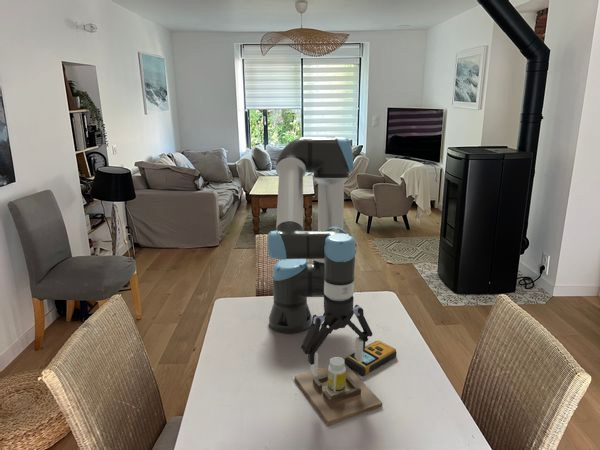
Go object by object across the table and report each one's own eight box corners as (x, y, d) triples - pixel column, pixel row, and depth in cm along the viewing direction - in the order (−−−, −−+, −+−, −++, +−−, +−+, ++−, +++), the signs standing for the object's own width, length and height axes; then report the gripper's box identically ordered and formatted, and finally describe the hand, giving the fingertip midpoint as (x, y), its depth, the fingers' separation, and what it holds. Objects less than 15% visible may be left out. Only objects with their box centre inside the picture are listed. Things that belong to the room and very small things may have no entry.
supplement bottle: (347, 384, 120) (348, 357, 118) (342, 395, 116) (343, 367, 114) (330, 381, 122) (330, 354, 120) (325, 391, 118) (326, 364, 115)
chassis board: (294, 379, 125) (294, 371, 124) (343, 365, 131) (343, 357, 130) (327, 425, 107) (328, 416, 107) (382, 406, 114) (382, 397, 113)
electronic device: (398, 358, 136) (398, 349, 135) (364, 378, 126) (364, 368, 125) (376, 347, 142) (377, 337, 141) (342, 365, 132) (343, 355, 131)
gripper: (300, 311, 103) (300, 387, 109) (388, 291, 113) (383, 361, 119) (287, 298, 109) (288, 370, 116) (371, 279, 119) (368, 347, 126)
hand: (336, 366), depth 118 cm, fingers open, 13 cm apart
